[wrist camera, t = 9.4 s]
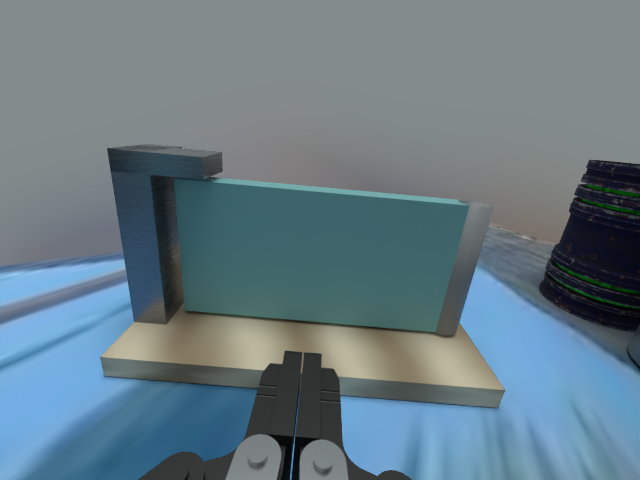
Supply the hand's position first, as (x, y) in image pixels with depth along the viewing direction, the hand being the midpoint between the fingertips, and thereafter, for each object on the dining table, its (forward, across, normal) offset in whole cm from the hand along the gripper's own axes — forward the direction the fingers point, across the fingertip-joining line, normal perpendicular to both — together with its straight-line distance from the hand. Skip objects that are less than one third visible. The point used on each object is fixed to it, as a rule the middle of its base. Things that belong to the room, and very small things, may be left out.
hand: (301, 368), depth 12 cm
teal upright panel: (+11, -1, +5) cm, 12 cm away
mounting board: (+14, 0, +6) cm, 15 cm away
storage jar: (+20, -31, +6) cm, 38 cm away
